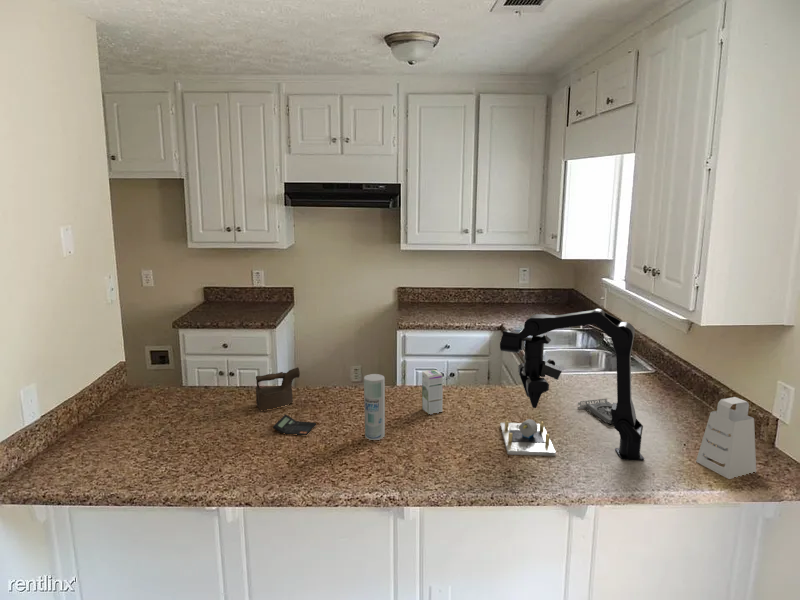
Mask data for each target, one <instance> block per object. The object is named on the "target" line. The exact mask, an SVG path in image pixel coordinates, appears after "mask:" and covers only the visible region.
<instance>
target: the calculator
mask: <svg viewBox="0 0 800 600" xmlns="http://www.w3.org/2000/svg"><path fill="white" fill-rule="evenodd" d="M316 423H317V422H311V421H310V422H309V421H300V420H299V421H298V420H295V419H294V418H292V417H290V416H289V415H288V414H284V415H283V416H282V417H281V418H280V419H279V420H278V421H277V422H276V423H275V424H274V425H273V426H272V429H274V430H275V431H276V432H279V433H281V434H282V433H285V434H297V435H307V434H308V433H309V432H310V431H311V429H312V428H313V427H314V426H315V425H316ZM316 426H317V425H316ZM316 426H315V427H316ZM315 427H314V428H315ZM314 428H313V429H314ZM311 432H312V431H311ZM311 432H310V433H311ZM310 433H309V434H310ZM285 434H284V435H285ZM309 434H308V435H309Z"/></svg>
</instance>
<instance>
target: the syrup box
mask: <svg viewBox="0 0 800 600" xmlns="http://www.w3.org/2000/svg"><path fill="white" fill-rule="evenodd" d="M421 385H422V386H421V389H422V391H421V396H422V397H421V398H422V399H421V405H422V407H421V408H422V411H424V412H425V413H426V412H427V413H428V414H427V413H426V414H427V415H429V414H430V415H434V414H433V413H437V414H440V413H439V412H442V413H443V373H441V372H440V371H438V370H437V369H428V370H424V371H421Z"/></svg>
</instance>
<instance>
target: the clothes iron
mask: <svg viewBox="0 0 800 600" xmlns="http://www.w3.org/2000/svg"><path fill="white" fill-rule="evenodd" d="M300 371H301V370H300V368H299V367H298V366H297V367H295V368H291V369H289V370H288V371H287V372H283V371H280V372H278V373H267V374H264V375H256V376H255V382H256V387H255V397H256V399H255V403H256V407H258V409H259V411H260V410H267V409H273V408H277V407H281V406H285V405H288V404H290V403H292V402H293V403H294V399H293V398H294V397H293V389H292V387H293V386H292V385H293V381H294V379H296V378H297V379H299V378H300V375H301V373H300ZM277 379H282V381H281V385H273V386H264V387H260V385H259V383H261V382H264V381H266V382H267V381H268V382H270V381H273V380H277ZM293 403H292V404H293ZM290 405H291V404H290ZM288 406H289V405H288Z"/></svg>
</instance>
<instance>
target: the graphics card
mask: <svg viewBox="0 0 800 600" xmlns="http://www.w3.org/2000/svg"><path fill="white" fill-rule="evenodd" d="M582 403H583V404H582ZM612 405H613V403H611V402H609V401H608V398H599V399H590V400H580V401H579V402H577V410H587V411H589V414H593V415H595V416H596V417H598V418H599V419H600V420H602V421H604V423H606V424H607V423H608V424H610V425H611V424H612V423H611V420H612V414H611V408H612Z"/></svg>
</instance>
